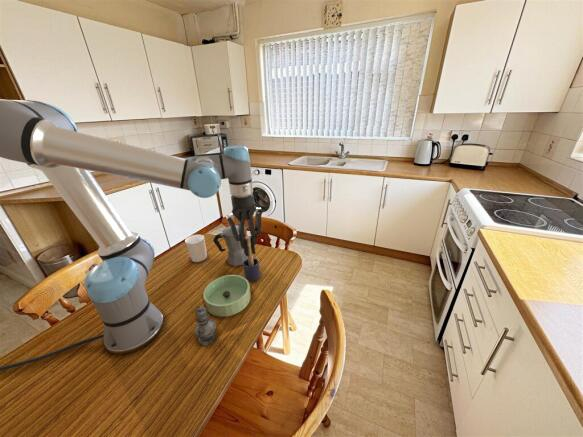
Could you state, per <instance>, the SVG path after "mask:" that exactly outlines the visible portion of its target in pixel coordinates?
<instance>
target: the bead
mask: <svg viewBox="0 0 583 437" xmlns="http://www.w3.org/2000/svg"><path fill="white" fill-rule="evenodd" d="M223 296H224V297H225V298H228V297H229V296H230V292H229V291H224V293H223Z"/></svg>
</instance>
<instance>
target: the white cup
mask: <svg viewBox="0 0 583 437" xmlns="http://www.w3.org/2000/svg"><path fill="white" fill-rule="evenodd" d="M184 242H185V245H186V249H187V252H188V256H189V257H190V260H191V262H194V263H201V262H203V261H205V260H206V259H207V258H208V252H207V244H206V240H205V236H204V235H203V234H193V235H189V236H187V237H186V239H185V240H184Z"/></svg>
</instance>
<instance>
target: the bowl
mask: <svg viewBox="0 0 583 437" xmlns="http://www.w3.org/2000/svg"><path fill="white" fill-rule="evenodd" d="M224 291H229V292H230V296H229V297H228V298H225V297H224V296H223V293H224ZM251 294H252V293H251V287H250V281H248V280H247V279H245V276H242V275H240V274H227V275H226V274H225V275H222V276H220V277H217V278H215V279H214V280H212V281H211V282H209V283H208V284H207V285H206V286H205V288H204V290H203V294H202V296H203V300H204V305H205V308H206V311H207V312H209V314H211V315H213V316H214V317H215V316H216V317H222V318H223V317H230V316H235V315H236V314H238V313H240V312H242V311H243V310H244V309H245V308H246V307H248V305H249V303H250V301H251V297H252V295H251Z"/></svg>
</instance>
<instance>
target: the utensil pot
mask: <svg viewBox="0 0 583 437" xmlns="http://www.w3.org/2000/svg"><path fill="white" fill-rule="evenodd" d="M253 261H254V266H249V263H248V259H246V260H245V261H244V262H243V265H242V266H243V267H242V268H243V274H244V278H245V279H247V281H248V282H254V281H257V280H259V279H260V277H261V268H260V261H259V259H258V258H255V257H253Z"/></svg>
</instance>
